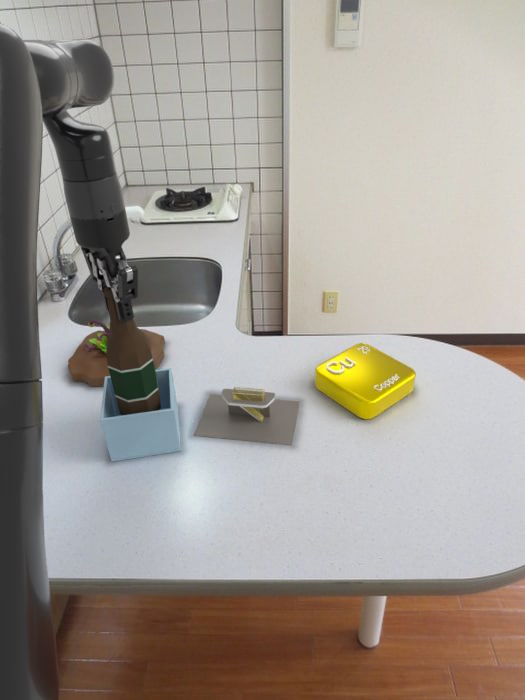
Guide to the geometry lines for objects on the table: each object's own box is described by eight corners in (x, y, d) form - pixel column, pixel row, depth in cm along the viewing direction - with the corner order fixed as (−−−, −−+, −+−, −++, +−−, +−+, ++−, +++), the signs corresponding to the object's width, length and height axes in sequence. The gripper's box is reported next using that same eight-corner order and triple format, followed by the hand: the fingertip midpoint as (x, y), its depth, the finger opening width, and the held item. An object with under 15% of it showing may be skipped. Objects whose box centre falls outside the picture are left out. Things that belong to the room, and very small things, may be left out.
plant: (146, 391, 107) (137, 345, 100) (57, 384, 109) (42, 339, 103) (175, 337, 123) (168, 295, 116) (96, 332, 126) (86, 291, 119)
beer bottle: (154, 424, 89) (129, 300, 76) (111, 420, 90) (79, 297, 77) (168, 395, 95) (147, 276, 82) (128, 392, 97) (101, 274, 83)
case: (180, 451, 92) (173, 410, 87) (111, 461, 91) (99, 420, 85) (177, 407, 102) (171, 367, 97) (115, 416, 101) (104, 376, 95)
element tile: (366, 423, 97) (368, 403, 94) (310, 385, 106) (310, 366, 104) (417, 389, 104) (420, 369, 101) (360, 356, 114) (362, 338, 111)
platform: (291, 445, 93) (291, 417, 89) (193, 435, 96) (189, 408, 92) (299, 401, 102) (299, 374, 99) (210, 393, 105) (207, 367, 101)
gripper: (50, 202, 75) (78, 306, 85) (94, 228, 66) (119, 342, 76) (99, 190, 79) (120, 291, 89) (146, 213, 70) (164, 323, 79)
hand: (120, 314), depth 82 cm, fingers closed on beer bottle, 4 cm apart
